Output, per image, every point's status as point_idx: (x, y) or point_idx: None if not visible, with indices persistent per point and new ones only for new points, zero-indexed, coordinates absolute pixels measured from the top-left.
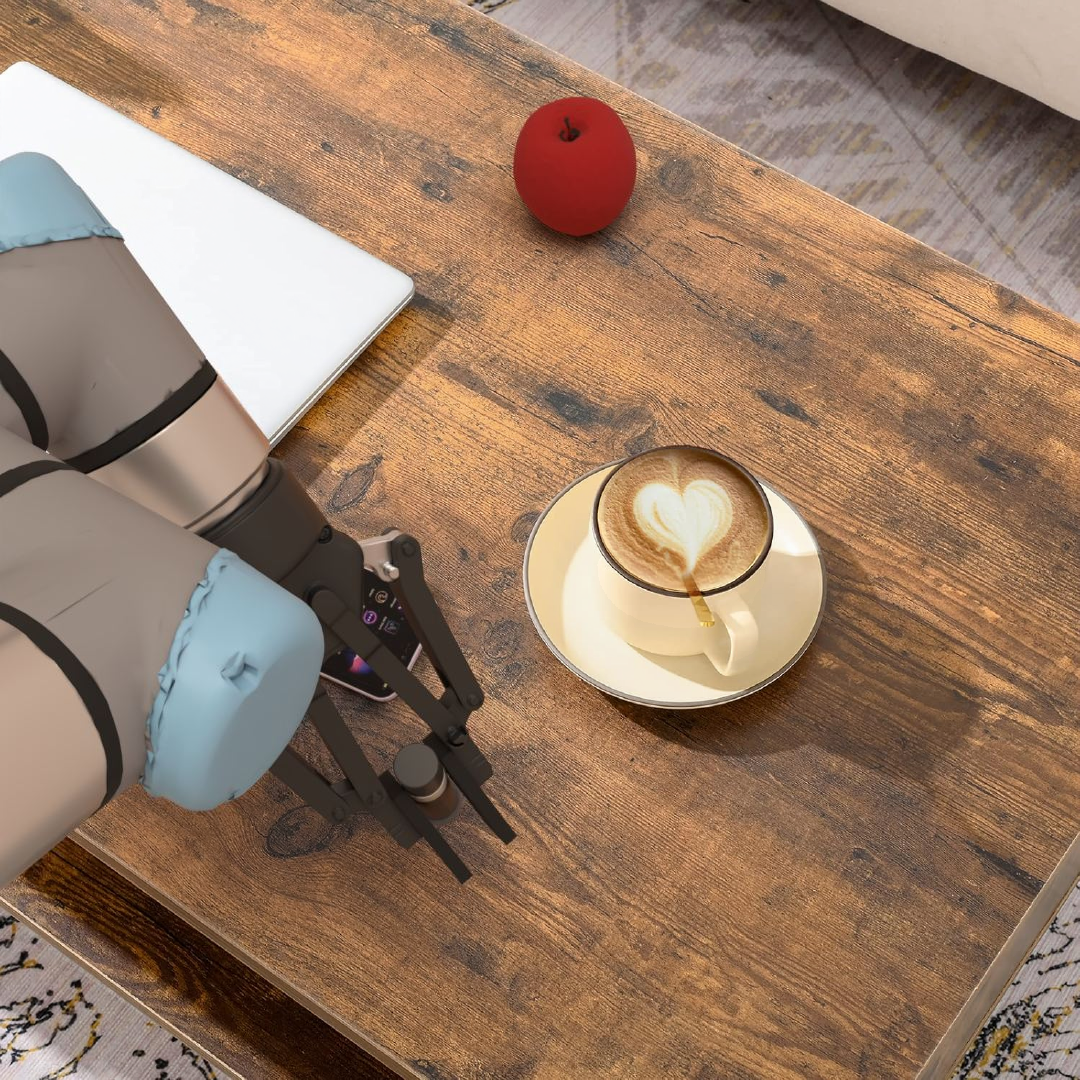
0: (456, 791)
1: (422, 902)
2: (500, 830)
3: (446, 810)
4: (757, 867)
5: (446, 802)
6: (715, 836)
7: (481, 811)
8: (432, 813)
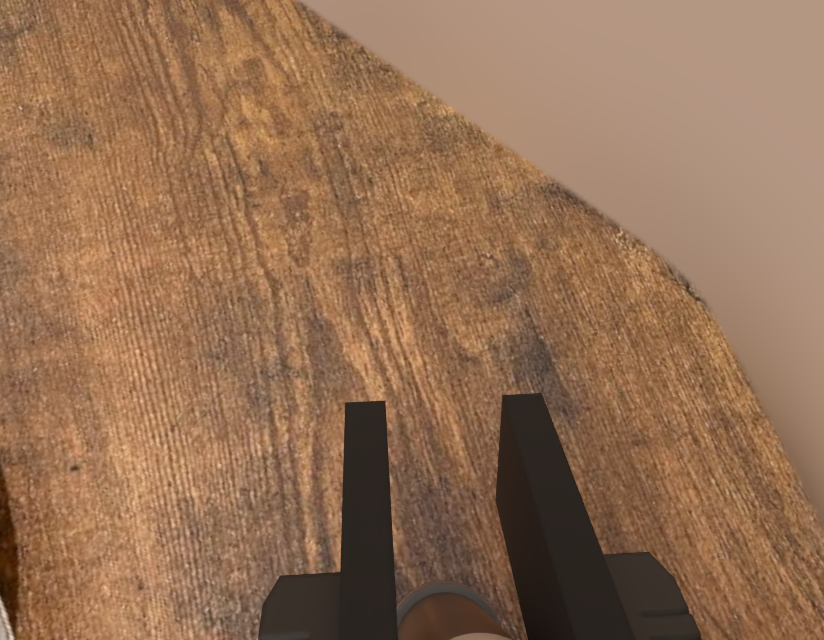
0: None
1: None
2: (373, 433)
3: (451, 600)
4: (58, 186)
5: (447, 613)
6: (70, 265)
7: (386, 500)
8: (490, 617)
